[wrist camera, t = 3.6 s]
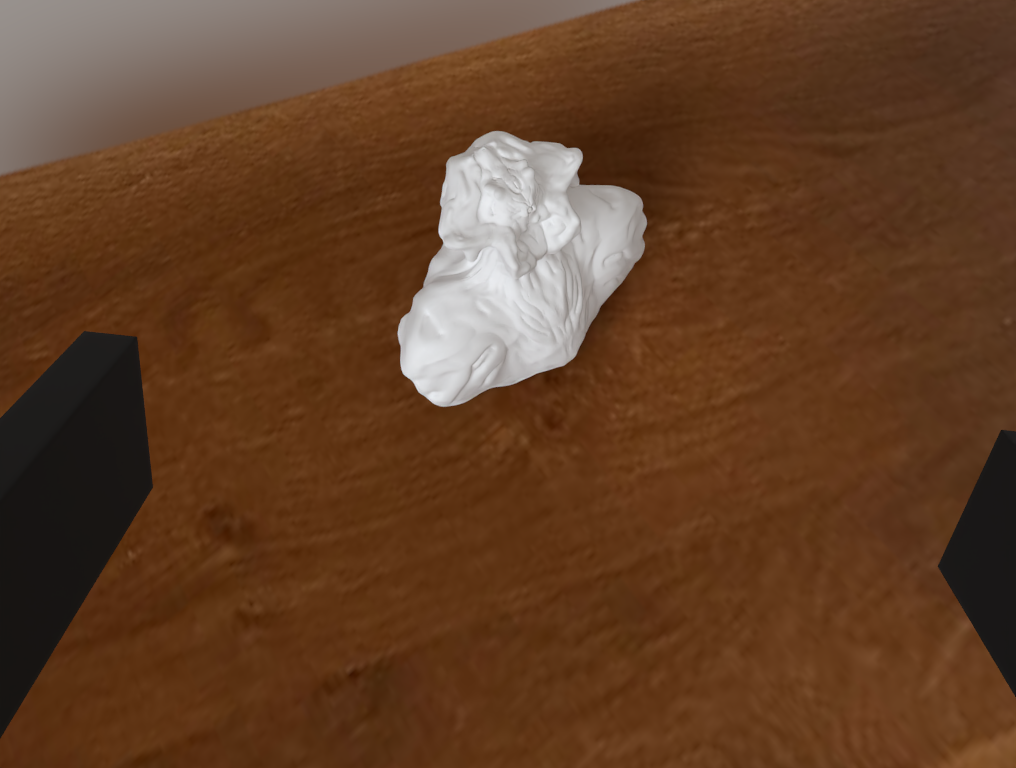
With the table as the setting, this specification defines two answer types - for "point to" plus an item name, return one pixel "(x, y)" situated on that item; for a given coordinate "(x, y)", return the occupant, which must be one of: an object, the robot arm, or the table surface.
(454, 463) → the table surface
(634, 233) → the bust
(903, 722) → the table surface
